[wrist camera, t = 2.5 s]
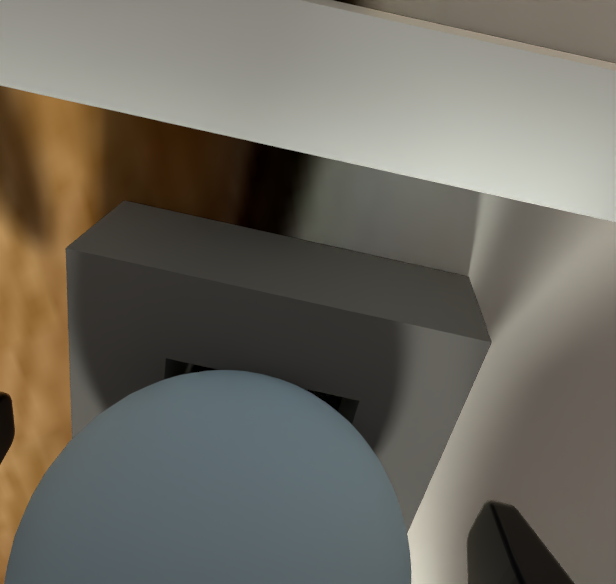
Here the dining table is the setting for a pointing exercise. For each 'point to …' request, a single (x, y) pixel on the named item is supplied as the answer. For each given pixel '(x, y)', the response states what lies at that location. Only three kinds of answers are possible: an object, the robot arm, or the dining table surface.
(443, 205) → the dining table surface
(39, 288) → the dining table surface
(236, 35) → the divider wall
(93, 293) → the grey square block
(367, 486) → the ball
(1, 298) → the dining table surface
